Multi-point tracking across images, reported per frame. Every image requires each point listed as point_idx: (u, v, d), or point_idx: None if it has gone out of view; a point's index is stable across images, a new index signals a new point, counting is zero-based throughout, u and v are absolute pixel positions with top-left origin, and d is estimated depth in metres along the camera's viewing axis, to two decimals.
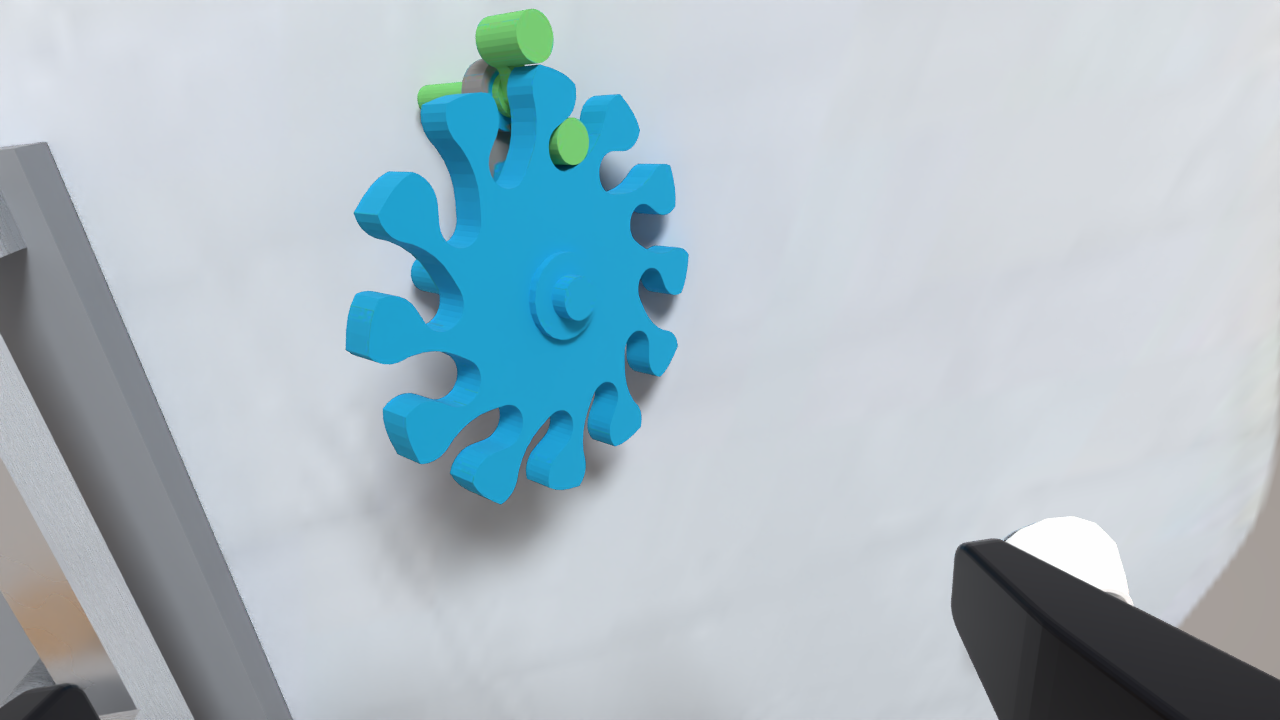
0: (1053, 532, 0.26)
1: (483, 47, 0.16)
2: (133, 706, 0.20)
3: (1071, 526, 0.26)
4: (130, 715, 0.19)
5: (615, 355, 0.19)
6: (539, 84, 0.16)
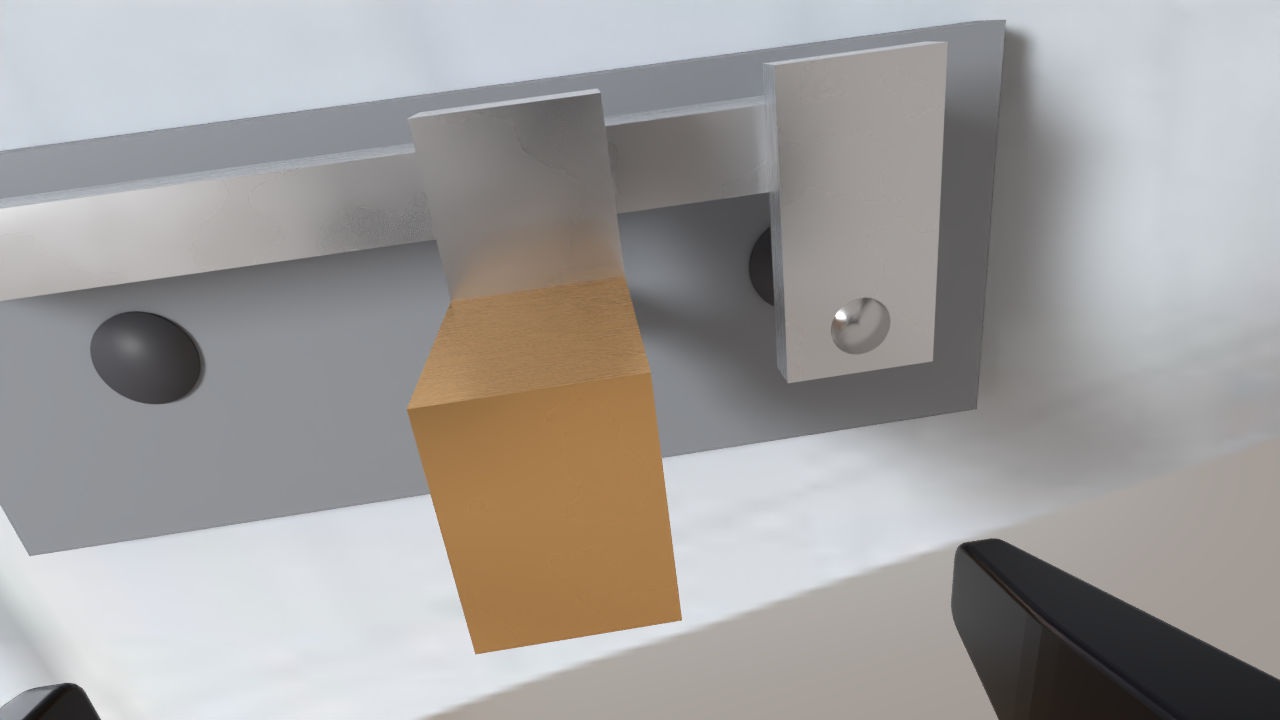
0: None
1: None
2: None
3: None
4: None
5: None
6: None
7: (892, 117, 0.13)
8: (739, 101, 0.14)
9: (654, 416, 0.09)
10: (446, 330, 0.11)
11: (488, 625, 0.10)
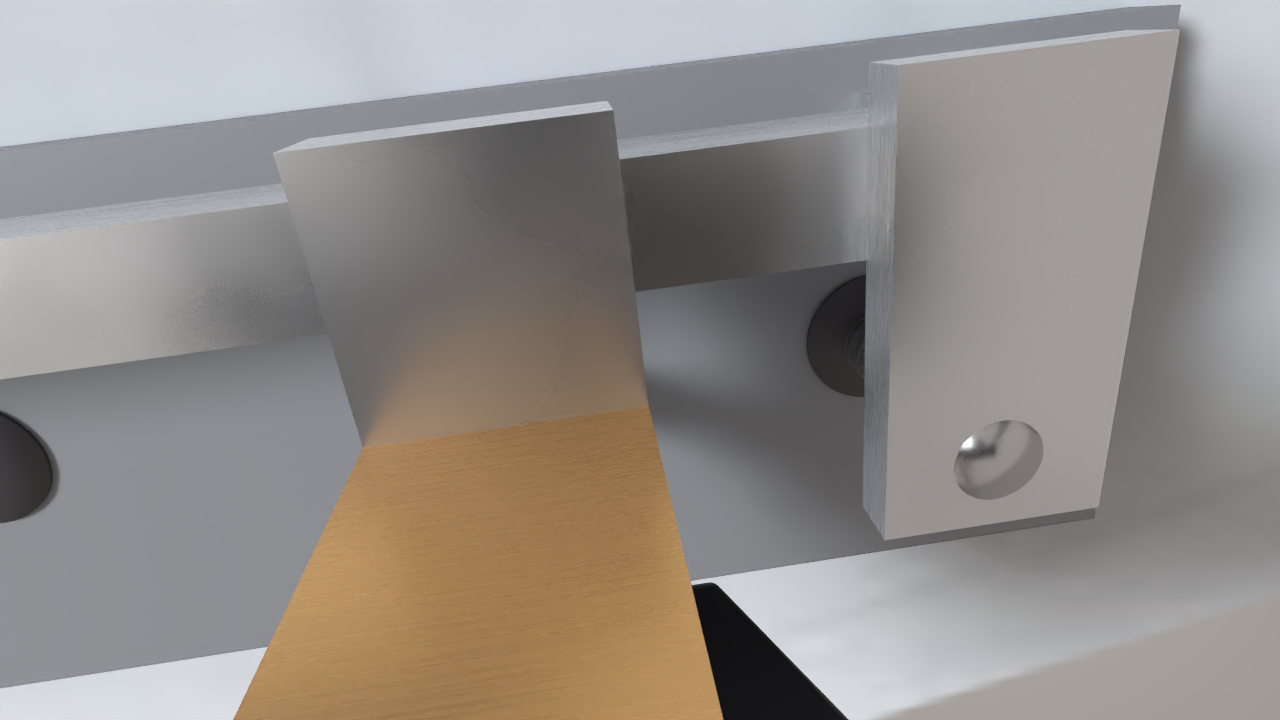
0: None
1: None
2: None
3: None
4: None
5: None
6: None
7: (1079, 150, 0.08)
8: (819, 120, 0.10)
9: None
10: (337, 528, 0.06)
11: None
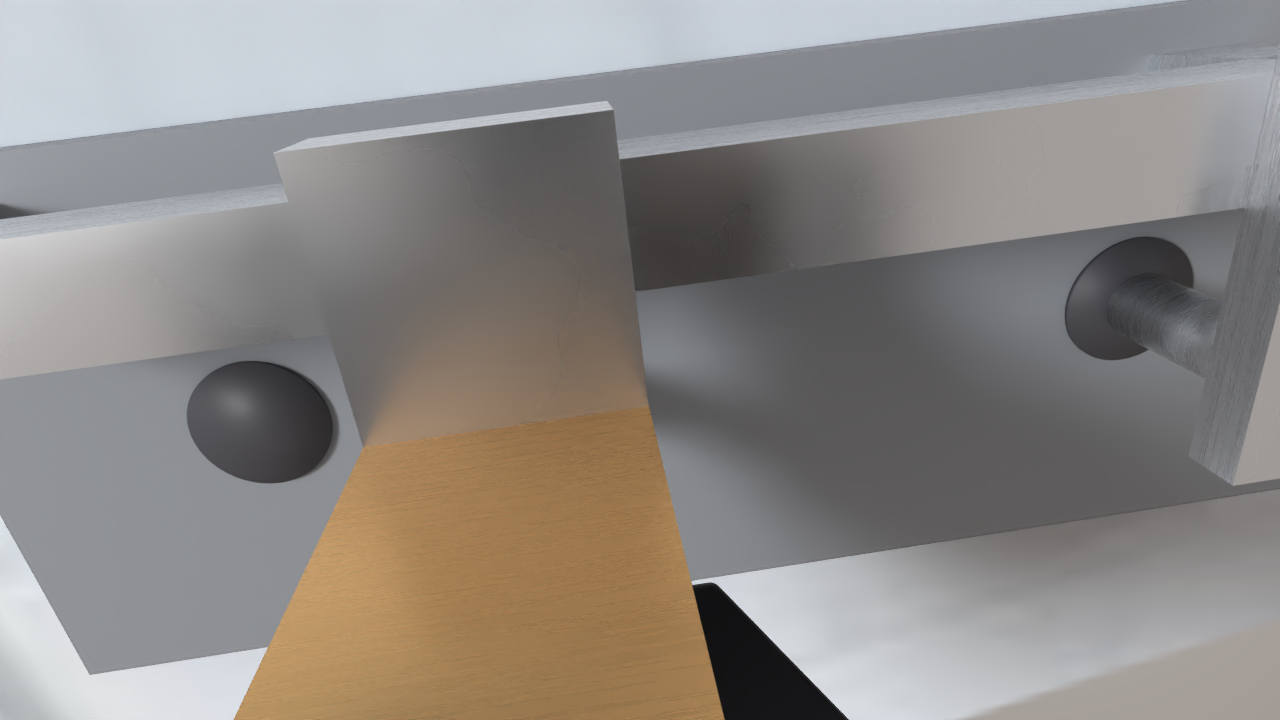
0: None
1: None
2: (824, 138, 0.09)
3: None
4: None
5: None
6: None
7: None
8: (1185, 73, 0.10)
9: None
10: (338, 528, 0.06)
11: None
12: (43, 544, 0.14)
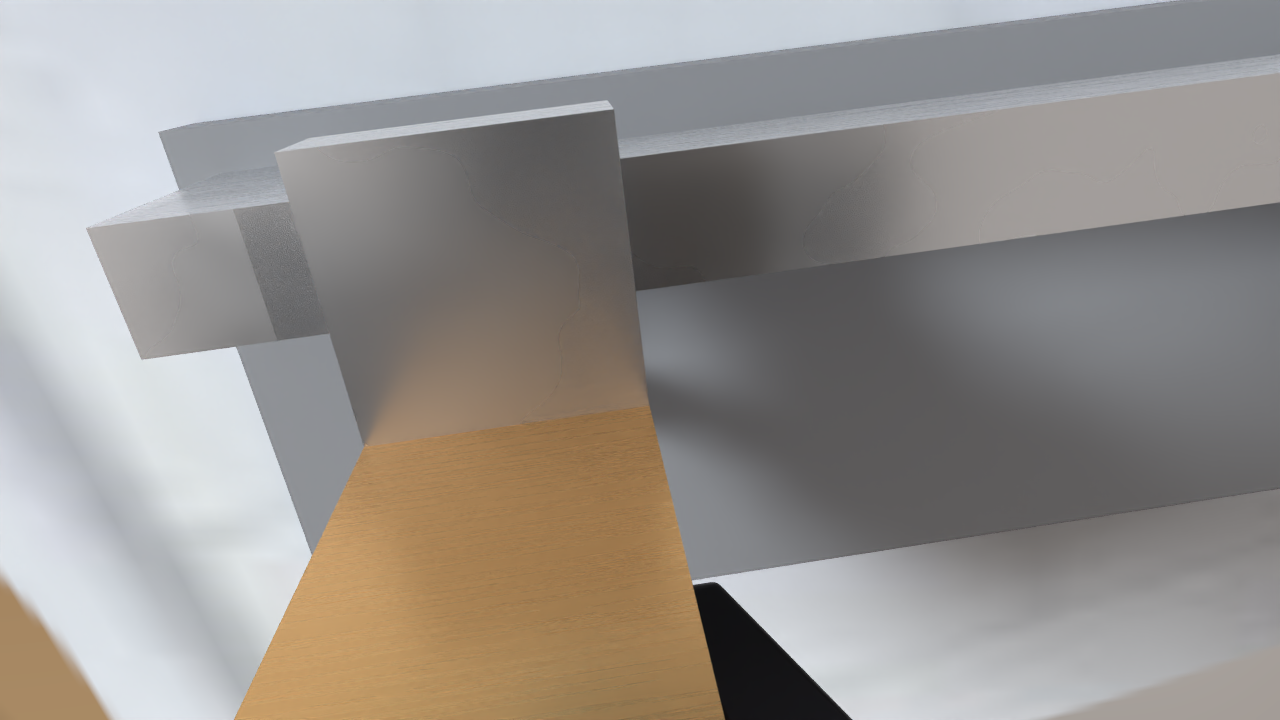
0: None
1: None
2: (1237, 83, 0.09)
3: None
4: None
5: None
6: None
7: None
8: None
9: None
10: (338, 527, 0.06)
11: None
12: (318, 503, 0.14)
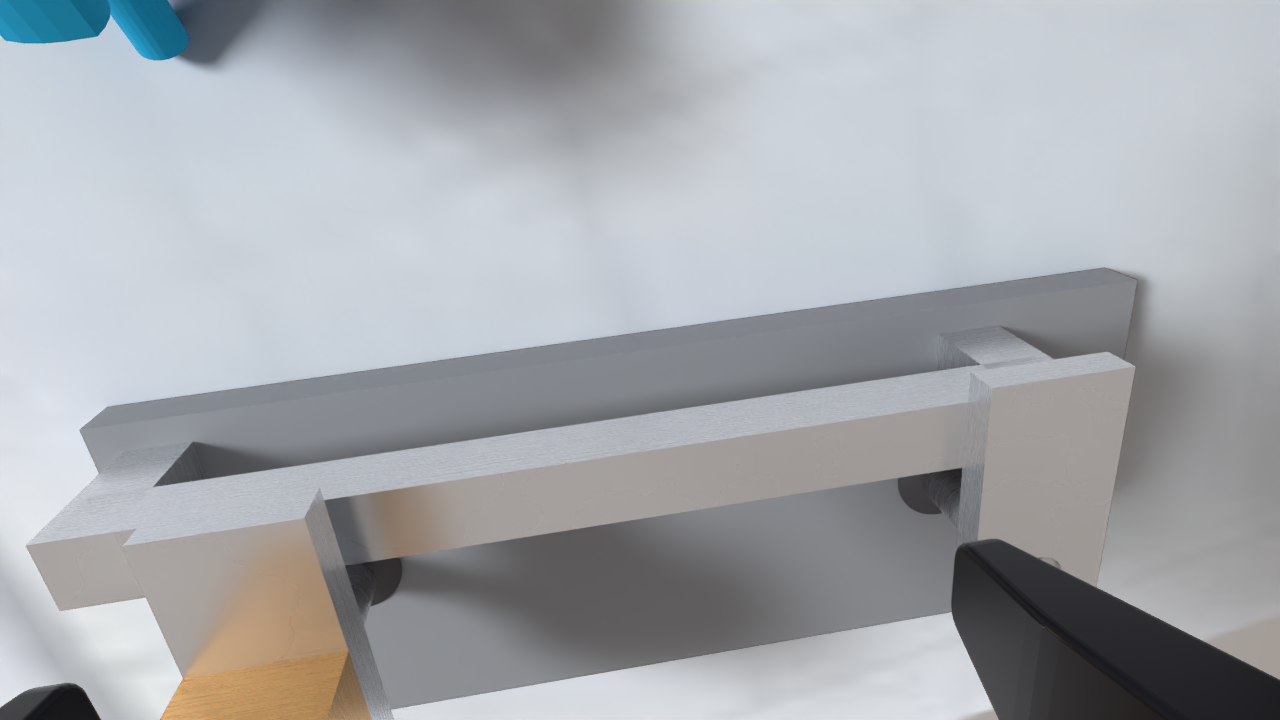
0: None
1: None
2: (713, 443, 0.15)
3: None
4: None
5: None
6: None
7: (1083, 422, 0.15)
8: (932, 383, 0.17)
9: None
10: None
11: None
12: None
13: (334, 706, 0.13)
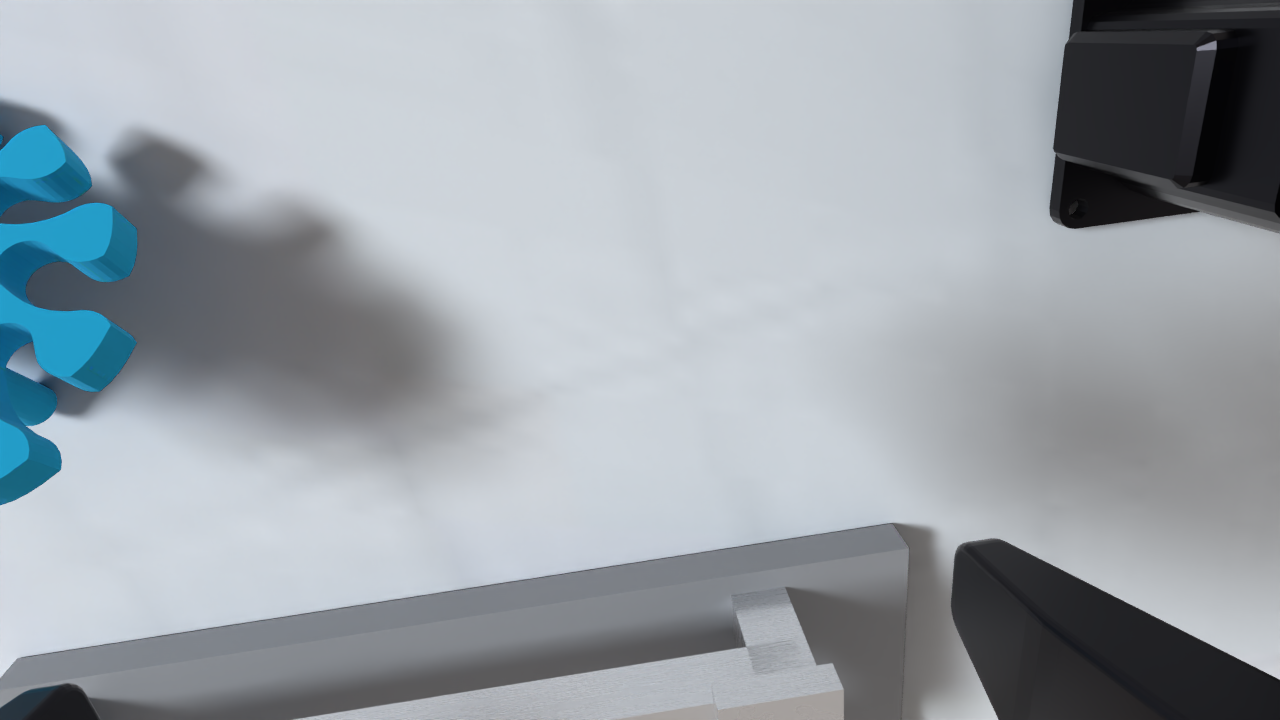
0: None
1: None
2: None
3: None
4: None
5: None
6: None
7: None
8: (696, 671, 0.19)
9: None
10: None
11: None
12: None
13: None
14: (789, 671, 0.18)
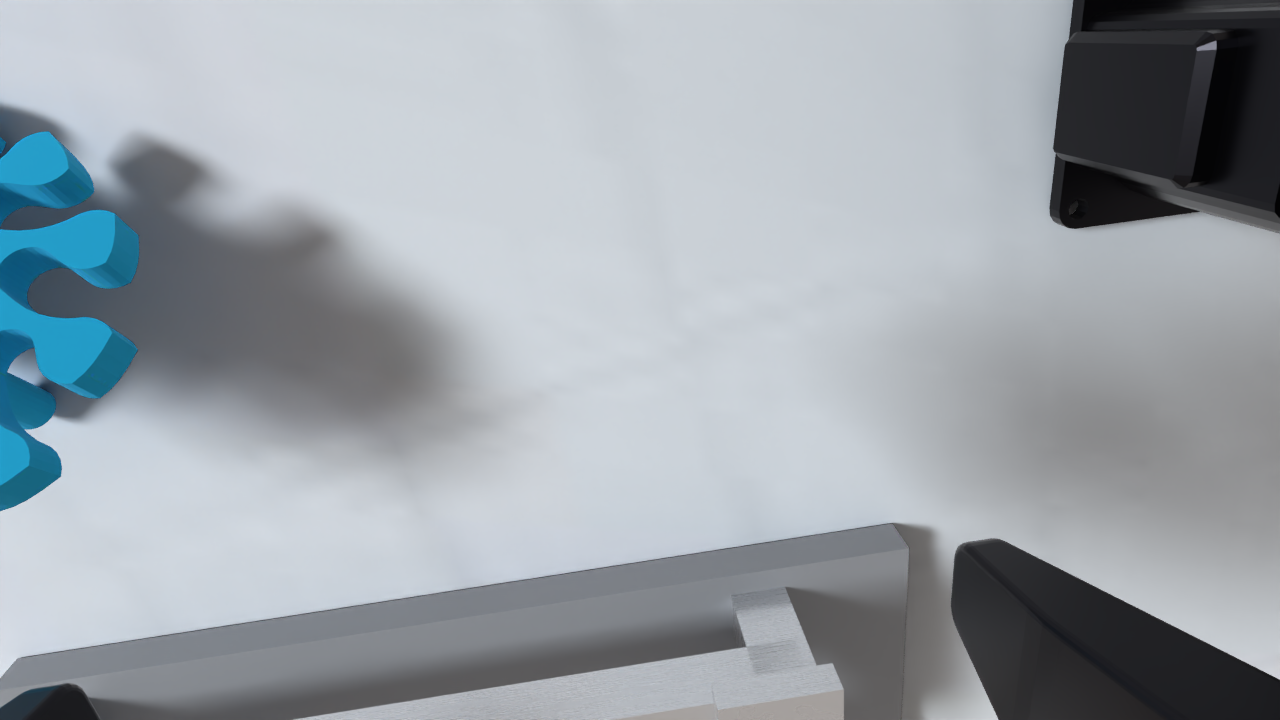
0: None
1: None
2: None
3: None
4: None
5: None
6: None
7: None
8: (696, 671, 0.19)
9: None
10: None
11: None
12: None
13: None
14: (789, 671, 0.18)
